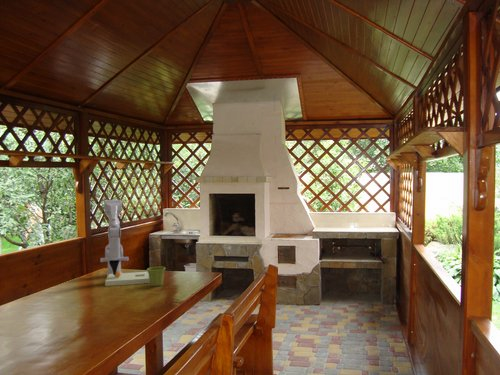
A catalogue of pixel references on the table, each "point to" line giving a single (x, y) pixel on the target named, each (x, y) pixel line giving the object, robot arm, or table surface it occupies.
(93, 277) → the table surface
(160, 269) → the plant pot
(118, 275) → the ball
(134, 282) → the deck
